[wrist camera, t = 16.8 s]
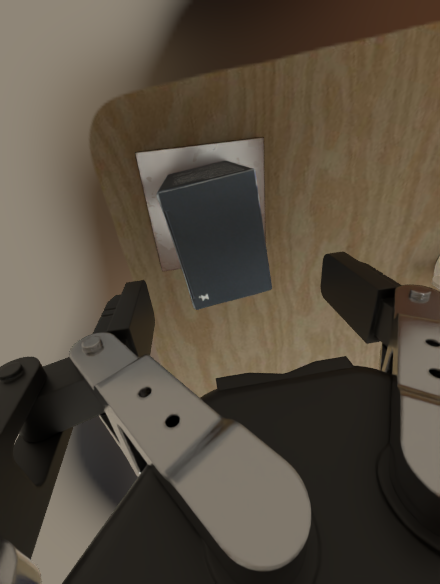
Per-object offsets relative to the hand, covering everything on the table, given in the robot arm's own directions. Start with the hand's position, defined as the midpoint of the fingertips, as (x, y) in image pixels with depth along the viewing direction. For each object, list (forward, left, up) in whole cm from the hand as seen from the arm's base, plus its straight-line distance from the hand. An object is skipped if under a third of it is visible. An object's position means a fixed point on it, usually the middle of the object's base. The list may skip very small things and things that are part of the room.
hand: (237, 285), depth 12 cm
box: (0, 0, -15) cm, 15 cm away
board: (0, 0, -17) cm, 17 cm away
